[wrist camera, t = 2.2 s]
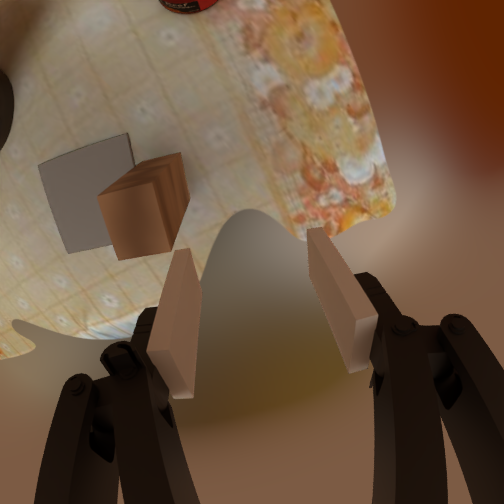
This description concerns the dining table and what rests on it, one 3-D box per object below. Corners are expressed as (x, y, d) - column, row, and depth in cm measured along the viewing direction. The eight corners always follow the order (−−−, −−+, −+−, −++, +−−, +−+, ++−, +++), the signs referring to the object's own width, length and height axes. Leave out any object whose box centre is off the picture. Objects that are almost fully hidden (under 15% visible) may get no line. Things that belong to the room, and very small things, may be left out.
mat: (69, 252, 38) (68, 253, 37) (40, 164, 31) (37, 165, 31) (154, 234, 38) (153, 236, 37) (127, 132, 31) (126, 133, 31)
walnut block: (153, 205, 36) (118, 260, 24) (142, 161, 33) (96, 196, 21) (190, 198, 36) (171, 251, 24) (180, 152, 33) (152, 182, 21)
